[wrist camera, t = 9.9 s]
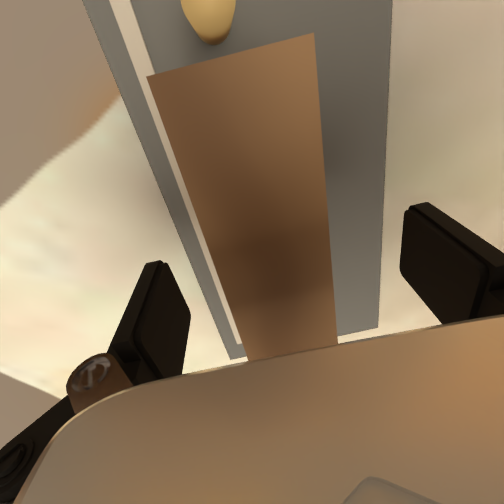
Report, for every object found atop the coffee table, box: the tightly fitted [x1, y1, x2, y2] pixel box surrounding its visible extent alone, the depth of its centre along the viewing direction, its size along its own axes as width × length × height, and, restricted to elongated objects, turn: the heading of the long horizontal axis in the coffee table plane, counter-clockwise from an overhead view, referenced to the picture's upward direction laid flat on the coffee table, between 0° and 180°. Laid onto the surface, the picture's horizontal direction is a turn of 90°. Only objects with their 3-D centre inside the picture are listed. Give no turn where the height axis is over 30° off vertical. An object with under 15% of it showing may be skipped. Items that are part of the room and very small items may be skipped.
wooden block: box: [146, 33, 338, 361], centre depth 14 cm, size 4×14×8 cm, turn 12°
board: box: [82, 0, 392, 360], centre depth 15 cm, size 13×28×6 cm, turn 12°
